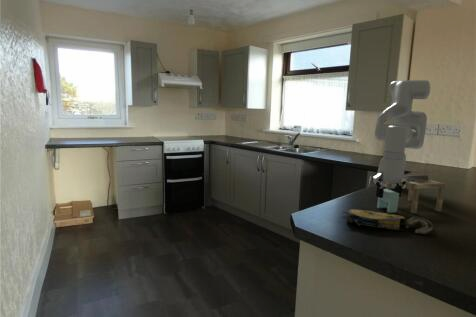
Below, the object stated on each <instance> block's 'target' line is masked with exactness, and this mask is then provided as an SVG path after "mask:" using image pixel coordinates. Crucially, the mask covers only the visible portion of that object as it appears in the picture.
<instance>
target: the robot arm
mask: <svg viewBox="0 0 476 317" xmlns="http://www.w3.org/2000/svg"><path fill="white" fill-rule="evenodd" d="M388 88H389V90H388V91H389V94H390V97H391V103H390V106H388V107H387V108H385V109H384V110H383V111H382V112H381V113H380V114H379V116H378V117H377V121H376V124H375V129H374V137H375V139H376V140H377V141H379V142H384V145H383V155H382V158H380V162H379V165H378V169H377V173H376V175H374V176H373V177H372V181H373V184H374V185H375V187H376V193H375V197H377V198H378V197H379V198H383V192H384V189H385V188H386V184H392V186H391V189H394V192H397V193H399V198H402V190H403V189H406V185H404V184H405V183H406V181H407V179H408V177H407V176H406V175H407V174H405V169H406V161H407V155H406V153H405V152H406V149H408V150H409V149H410V150H420V149H421V148H422V147H423V146H424V143H425V142H424V141H425V136H426V130H427V129H426V128H427V120H428V119H427V118H428V116H427V114H426V113H425V112H423V111H413V110H412V109H413V101H414V100H427V99H428V98H429V95H430V93H431V84H430V81H429V80H428V79H427V80H426V79H425V80H424V79H422V80H419V79H417V80H416V79H415V80H414V79H413V80H411V79H410V80H406V79H405V80H404V79H403V80H393V81H392V82H390V84H389V85H388ZM390 120H391V123H387V122H389V121H390ZM384 187H385V188H384Z"/></svg>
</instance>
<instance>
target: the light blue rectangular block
mask: <svg viewBox="0 0 476 317" xmlns="http://www.w3.org/2000/svg"><path fill="white" fill-rule="evenodd" d="M383 189H384V192H383V198H379V197H377V204H376V208H377V209H386V212H387V213H389V212H390V213H391V214H393V213H398V206H399V198H400V197H399V193H397V192H394V191H393V190H392V189H391V190H388V189H386V188H383ZM387 202H388V203H387Z"/></svg>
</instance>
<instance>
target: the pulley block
mask: <svg viewBox="0 0 476 317" xmlns="http://www.w3.org/2000/svg"><path fill="white" fill-rule="evenodd" d="M342 213H344V214H345V215H346V217H345V216H341V219H344V220H346V221H348V222H350V223H355V224H356V225H358V226H359V227H361V225H363V226H369V227H373V228H378V229H379V228H380V229H386V230H388V231H392V230H394V231H405V228H406V229H410V228H416V227H418V226H419V227H420V228H416V229H415V231H414V233H415V234H421V235H432V234H433V233H435V232H436V231H435V226H434V223H433V222H432V221H431V220H429V219H428V218H425V217H422V216H412V217H410V218H409V219H406V217H405V216H402V215H398V214H393V213H390V212H387V213H386V212H377V211H373V210H372V211H371V210H364V209H349V210H347V211H342Z"/></svg>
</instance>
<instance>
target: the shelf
mask: <svg viewBox="0 0 476 317" xmlns="http://www.w3.org/2000/svg"><path fill="white" fill-rule="evenodd" d="M405 175H406V176H407V177H408V179H407V181H406V183H405V184H404V185H405V186H407V187H408V193H407V201H409V202H411V207H410V213H411V214H417V212H418V205H419V197H420V191H421V189H434V188H435V189H436V188H438V189H437V197H436V203H435V209H434V211H436V212H442V209H443V201H444V196H445V190H446V189H445V188H446V183H444V182H440V181H436V180H432V179H430V178H429V175H427V174H405ZM391 186H392V184H386V187H385V189H388V190H391V191H392V188H391ZM387 204H388V202H387Z"/></svg>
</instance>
